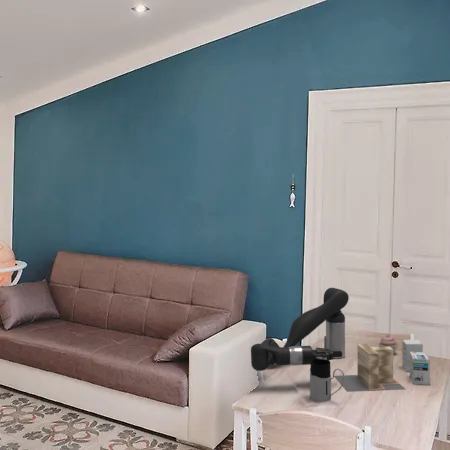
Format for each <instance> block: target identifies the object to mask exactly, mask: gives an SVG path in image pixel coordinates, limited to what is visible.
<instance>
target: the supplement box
mask: <svg viewBox="0 0 450 450" xmlns="http://www.w3.org/2000/svg"><path fill="white" fill-rule="evenodd" d="M401 343H402V347H401V348H402V349H401V350H402V352H401V353H402V354H401V355H402V356H401V357H402V359H401V360H402V361H401V363H402V364H401V365H402V368H403V369H404V370H405V372H407V373H408V372H409V373H410V352H424V350H423V349H424V344H423V343H422V342H421V341H420V340H419V339H402V341H401Z"/></svg>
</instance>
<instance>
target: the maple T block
mask: <svg viewBox="0 0 450 450" xmlns="http://www.w3.org/2000/svg"><path fill="white" fill-rule="evenodd" d="M357 375H358V378H359V379H360V380H361V381H362V382H363V383H364V384H365V385H366V386H367V387H368V388H379V383H393V378H394V355H393V349H392V348H391V347H380V346H374V347H373V346H372V347H371V346H370V345H369V344H367V343H361V344H360V343H359V344H357Z"/></svg>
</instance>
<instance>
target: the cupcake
mask: <svg viewBox="0 0 450 450" xmlns="http://www.w3.org/2000/svg"><path fill="white" fill-rule="evenodd" d="M378 345H379V346H378V347H391V348H392V349H393V356H394V355H395V354H396V352H397V351H396V350H397V349H398V346H399V344H398V343H397V340H396V339H395V338H394V336H393V335H392V334H389V333H388V334H386V335H385V336H382V337H381V339H380V342H379V343H378Z"/></svg>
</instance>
